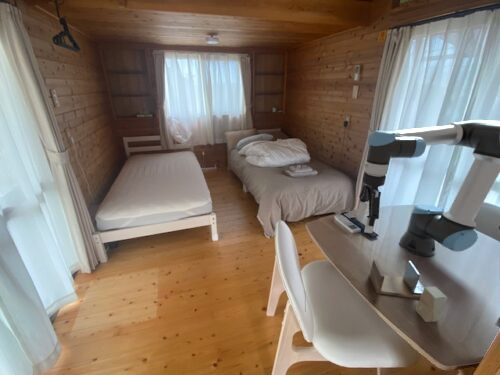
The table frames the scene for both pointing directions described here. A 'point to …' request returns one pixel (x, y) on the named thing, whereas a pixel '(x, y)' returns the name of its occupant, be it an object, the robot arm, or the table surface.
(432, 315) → the box
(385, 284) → the rack
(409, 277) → the bookend
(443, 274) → the table surface
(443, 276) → the table surface
